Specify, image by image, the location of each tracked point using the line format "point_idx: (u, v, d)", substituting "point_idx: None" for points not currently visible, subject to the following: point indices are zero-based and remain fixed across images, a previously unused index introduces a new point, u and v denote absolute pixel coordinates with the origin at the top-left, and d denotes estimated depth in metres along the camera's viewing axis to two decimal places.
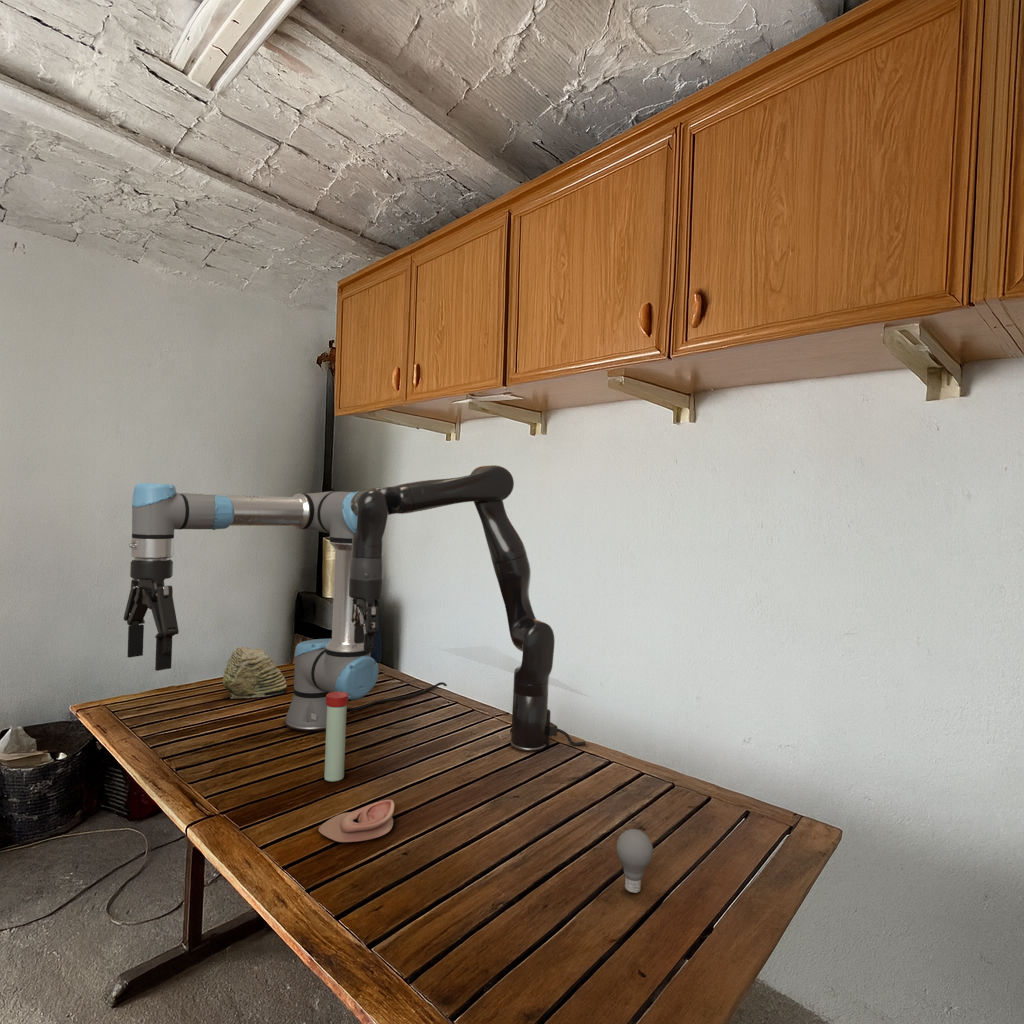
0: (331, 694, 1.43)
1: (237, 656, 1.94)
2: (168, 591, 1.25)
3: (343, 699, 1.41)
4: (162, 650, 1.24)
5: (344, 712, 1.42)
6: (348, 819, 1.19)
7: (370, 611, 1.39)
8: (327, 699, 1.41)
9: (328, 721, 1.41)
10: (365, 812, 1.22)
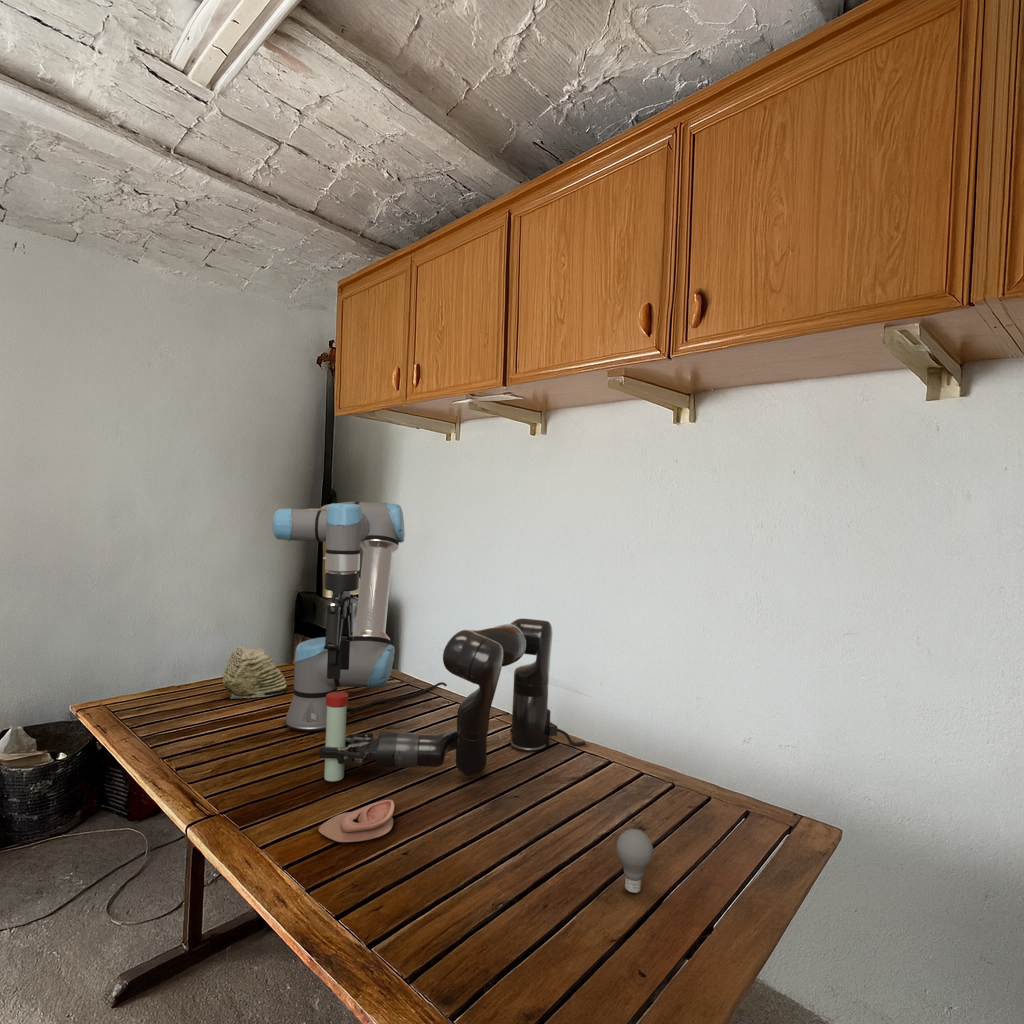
0: (331, 694, 1.43)
1: (237, 656, 1.94)
2: (334, 608, 1.36)
3: (343, 699, 1.41)
4: None
5: (344, 712, 1.42)
6: (348, 819, 1.19)
7: None
8: (327, 699, 1.41)
9: (328, 721, 1.41)
10: (365, 812, 1.22)
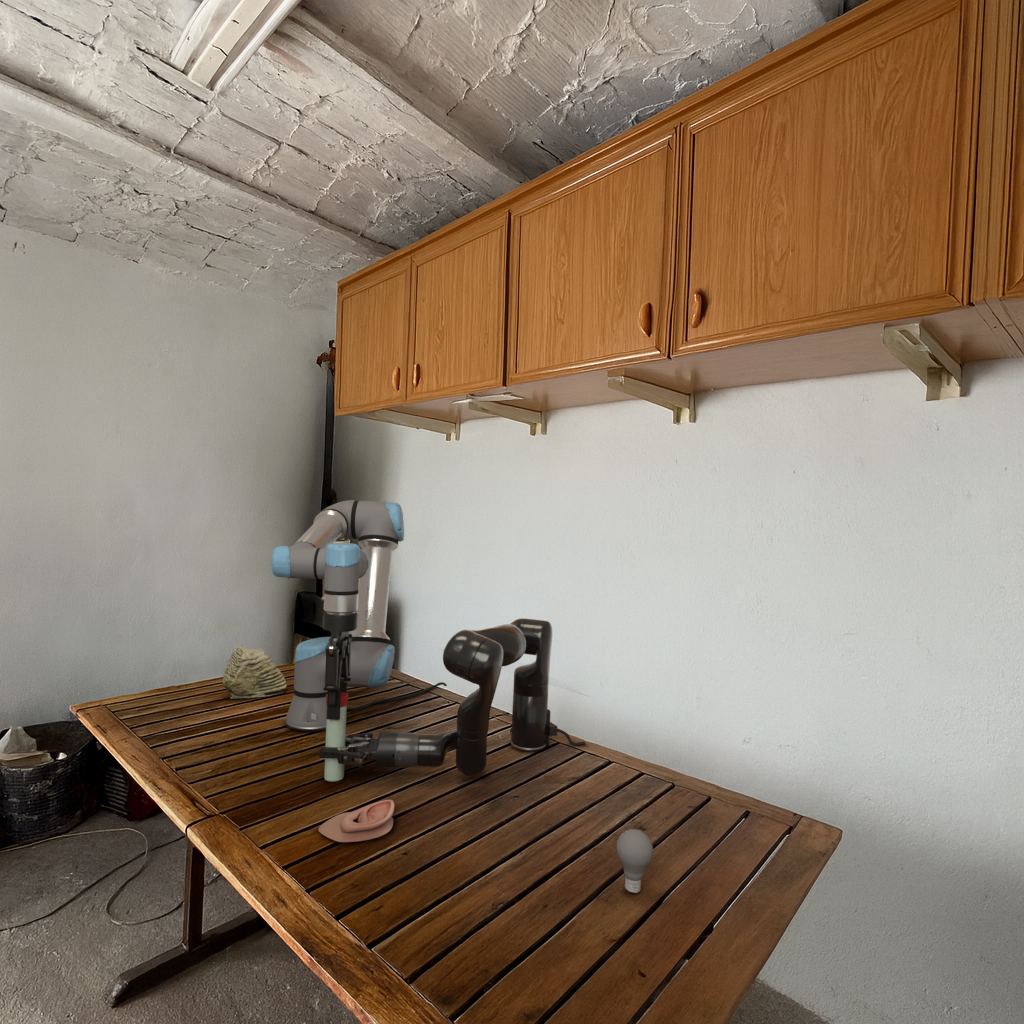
0: None
1: (237, 656, 1.94)
2: (333, 652, 1.36)
3: (343, 699, 1.41)
4: None
5: (344, 712, 1.42)
6: (348, 819, 1.19)
7: None
8: None
9: (328, 721, 1.41)
10: (365, 812, 1.22)
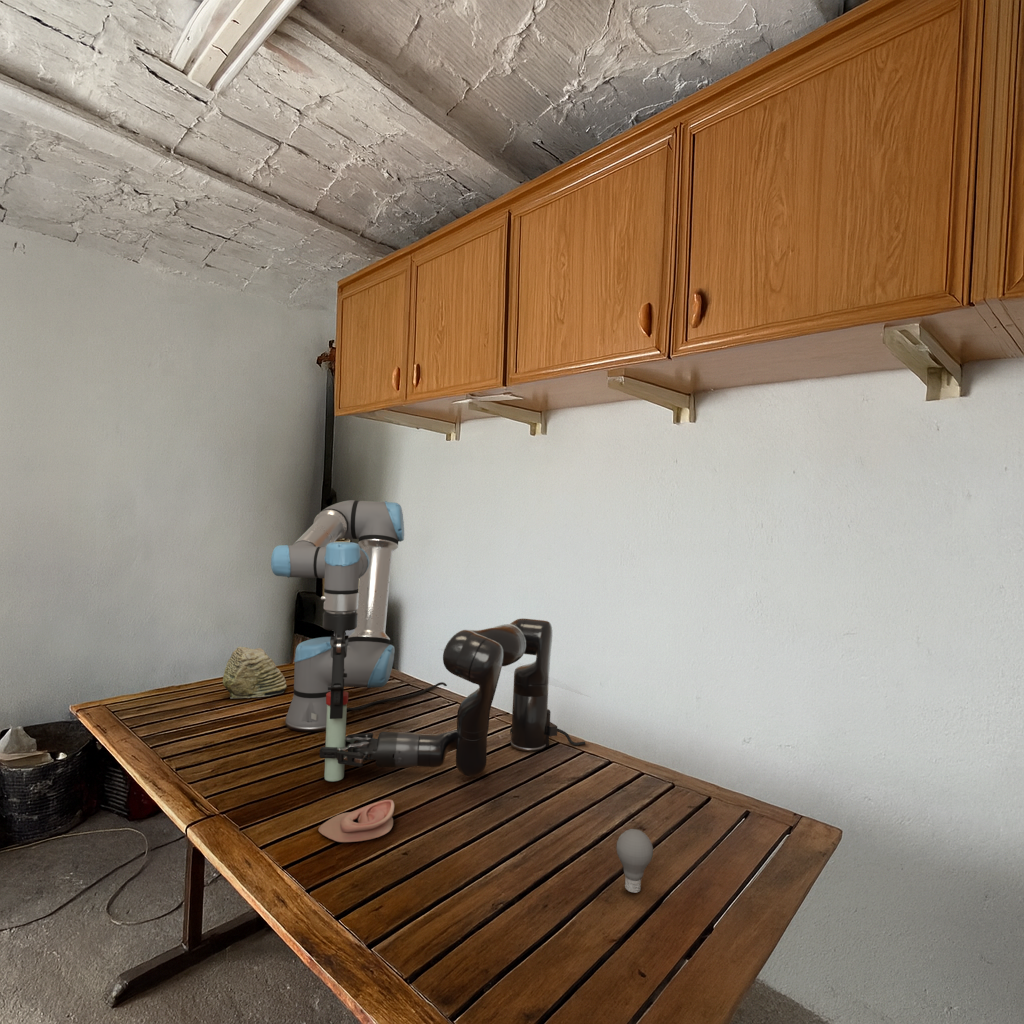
0: None
1: (237, 656, 1.94)
2: (340, 649, 1.36)
3: None
4: None
5: (344, 712, 1.42)
6: (348, 819, 1.19)
7: None
8: None
9: (328, 721, 1.41)
10: (365, 812, 1.22)
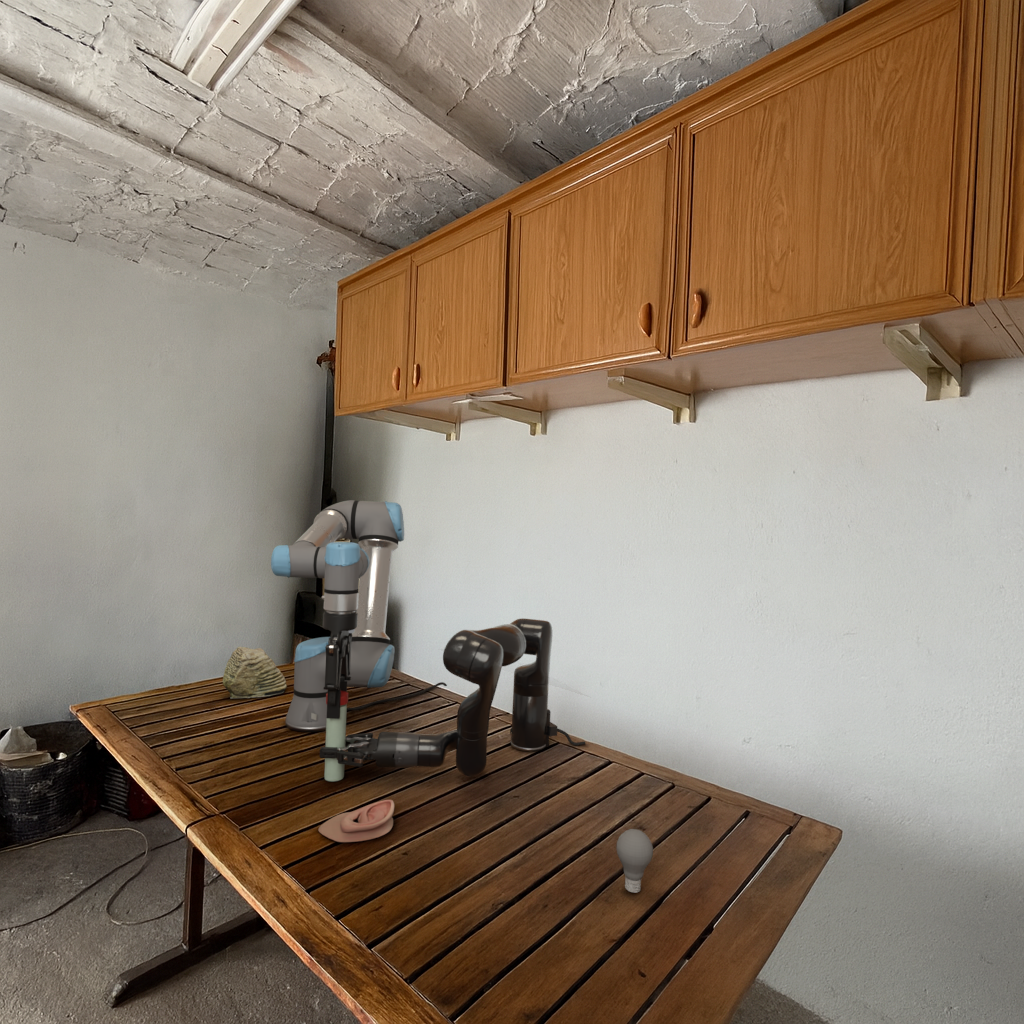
0: None
1: (237, 656, 1.94)
2: (333, 651, 1.36)
3: None
4: None
5: (344, 712, 1.42)
6: (348, 819, 1.19)
7: None
8: (341, 699, 1.41)
9: (328, 721, 1.41)
10: (365, 812, 1.22)
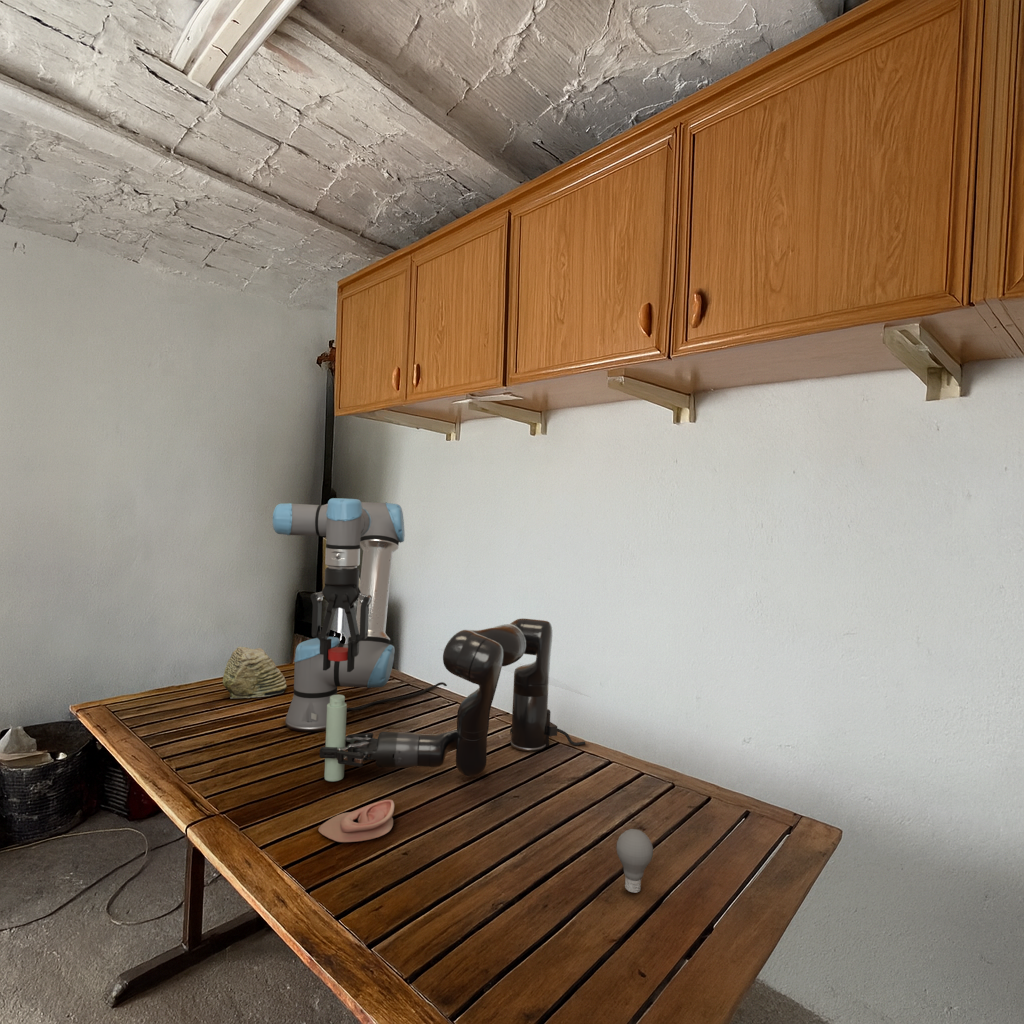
0: (344, 650, 1.43)
1: (237, 656, 1.94)
2: (369, 601, 1.43)
3: None
4: (354, 653, 1.42)
5: (344, 712, 1.42)
6: (348, 819, 1.19)
7: None
8: None
9: (328, 721, 1.41)
10: (365, 812, 1.22)
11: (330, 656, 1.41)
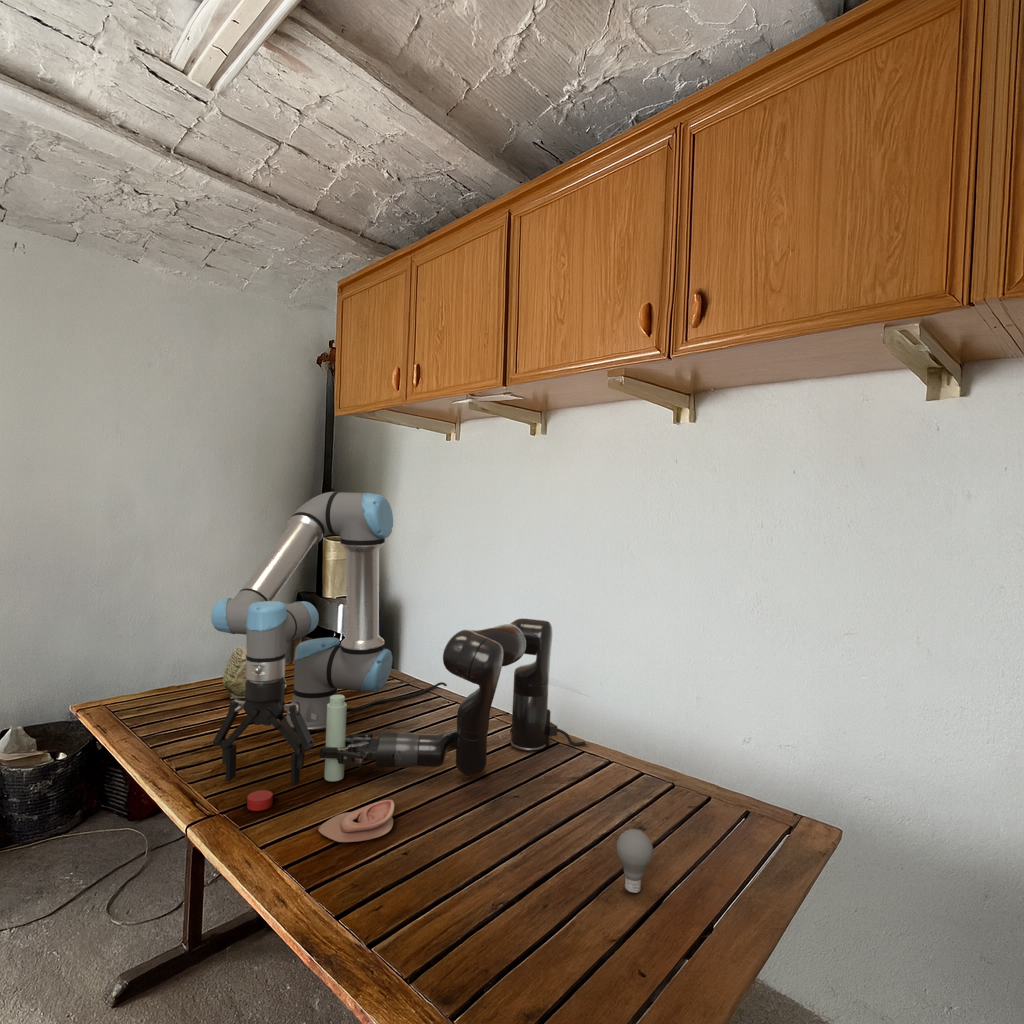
0: (266, 796, 1.29)
1: (237, 656, 1.94)
2: (298, 708, 1.29)
3: None
4: (299, 765, 1.28)
5: (344, 712, 1.42)
6: (348, 819, 1.19)
7: None
8: None
9: (328, 721, 1.41)
10: (365, 812, 1.22)
11: (249, 805, 1.27)
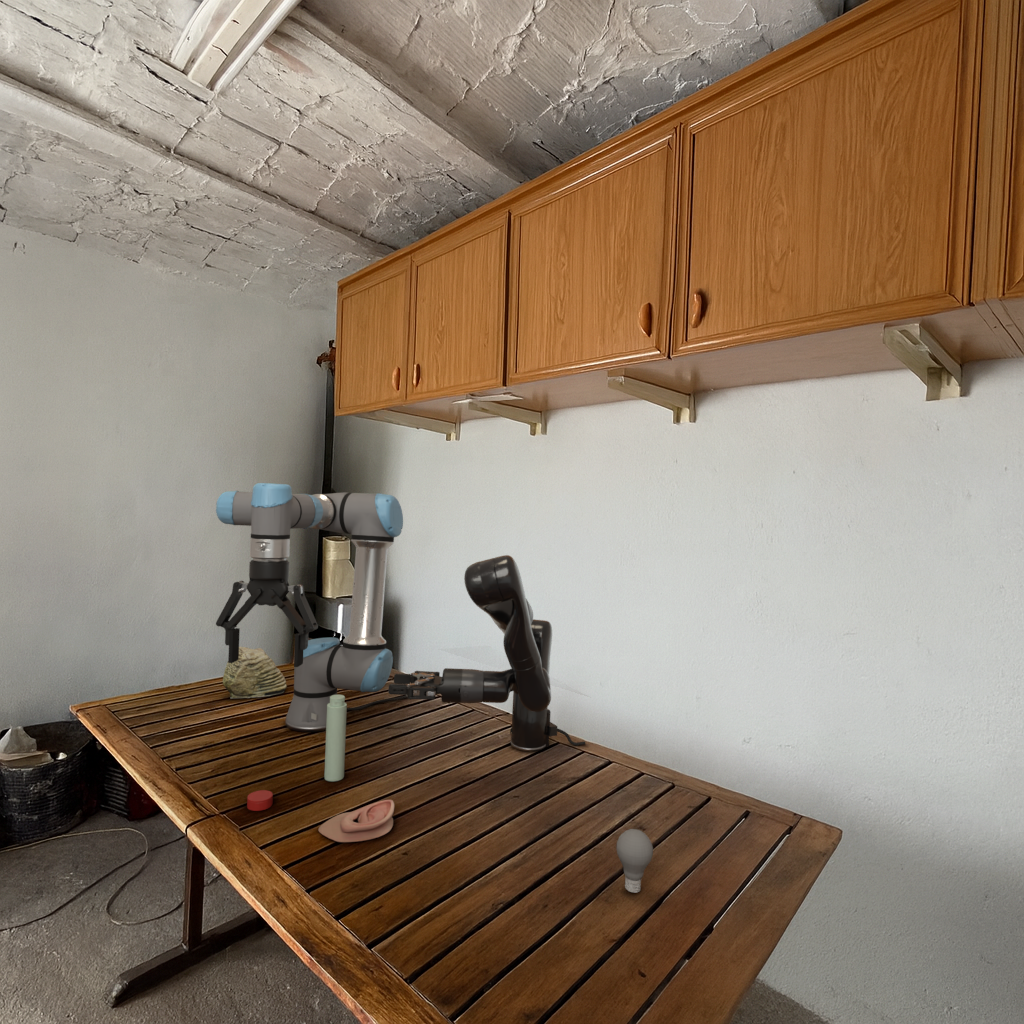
0: (266, 796, 1.29)
1: None
2: (302, 589, 1.29)
3: None
4: (302, 646, 1.28)
5: (344, 712, 1.42)
6: (348, 819, 1.19)
7: None
8: None
9: (328, 721, 1.41)
10: (365, 812, 1.22)
11: (249, 805, 1.27)
